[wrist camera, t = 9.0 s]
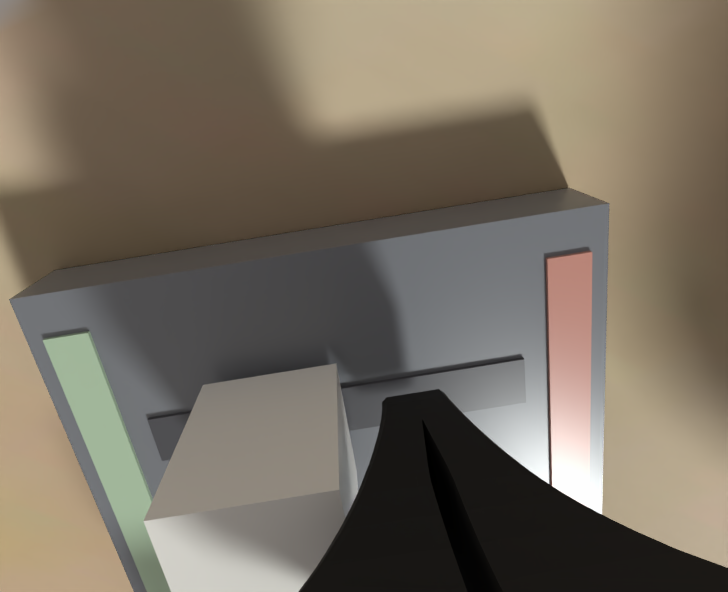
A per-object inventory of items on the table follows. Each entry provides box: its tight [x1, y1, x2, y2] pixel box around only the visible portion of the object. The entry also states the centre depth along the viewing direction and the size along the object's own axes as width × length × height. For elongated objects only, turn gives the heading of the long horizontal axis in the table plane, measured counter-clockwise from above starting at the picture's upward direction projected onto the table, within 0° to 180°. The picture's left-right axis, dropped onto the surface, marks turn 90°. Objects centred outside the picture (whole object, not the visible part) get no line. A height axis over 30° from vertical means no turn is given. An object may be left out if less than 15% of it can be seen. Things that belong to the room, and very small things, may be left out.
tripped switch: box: [143, 364, 358, 592], centre depth 10 cm, size 3×3×4 cm
